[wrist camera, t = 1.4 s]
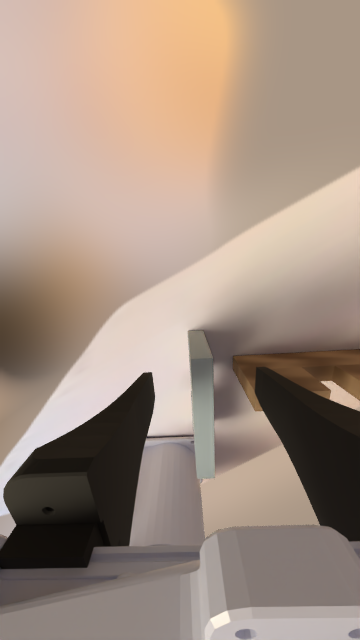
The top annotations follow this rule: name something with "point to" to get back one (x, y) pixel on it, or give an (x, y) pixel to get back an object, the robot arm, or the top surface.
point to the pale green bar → (202, 403)
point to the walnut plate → (303, 371)
